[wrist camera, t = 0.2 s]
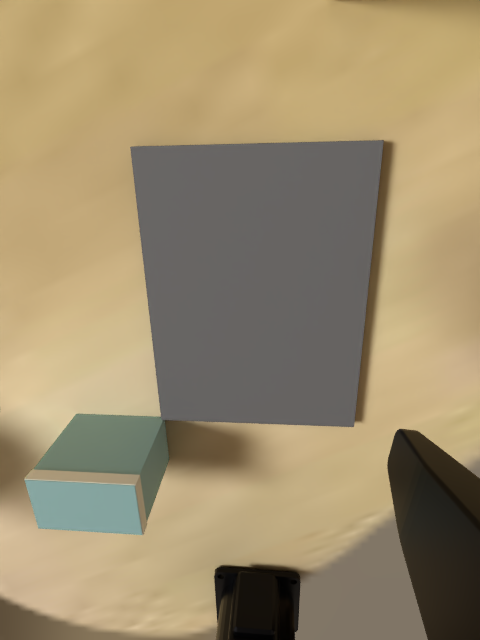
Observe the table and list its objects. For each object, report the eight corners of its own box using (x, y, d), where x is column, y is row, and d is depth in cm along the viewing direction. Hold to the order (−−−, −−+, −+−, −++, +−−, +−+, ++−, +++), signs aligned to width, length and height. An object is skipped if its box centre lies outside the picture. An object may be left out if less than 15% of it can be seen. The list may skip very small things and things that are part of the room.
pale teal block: (170, 460, 28) (143, 535, 22) (84, 455, 28) (37, 529, 23) (165, 416, 27) (135, 485, 21) (75, 412, 27) (23, 479, 22)
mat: (352, 421, 25) (353, 427, 25) (164, 414, 26) (161, 419, 26) (380, 140, 19) (383, 140, 19) (134, 146, 20) (130, 146, 20)
